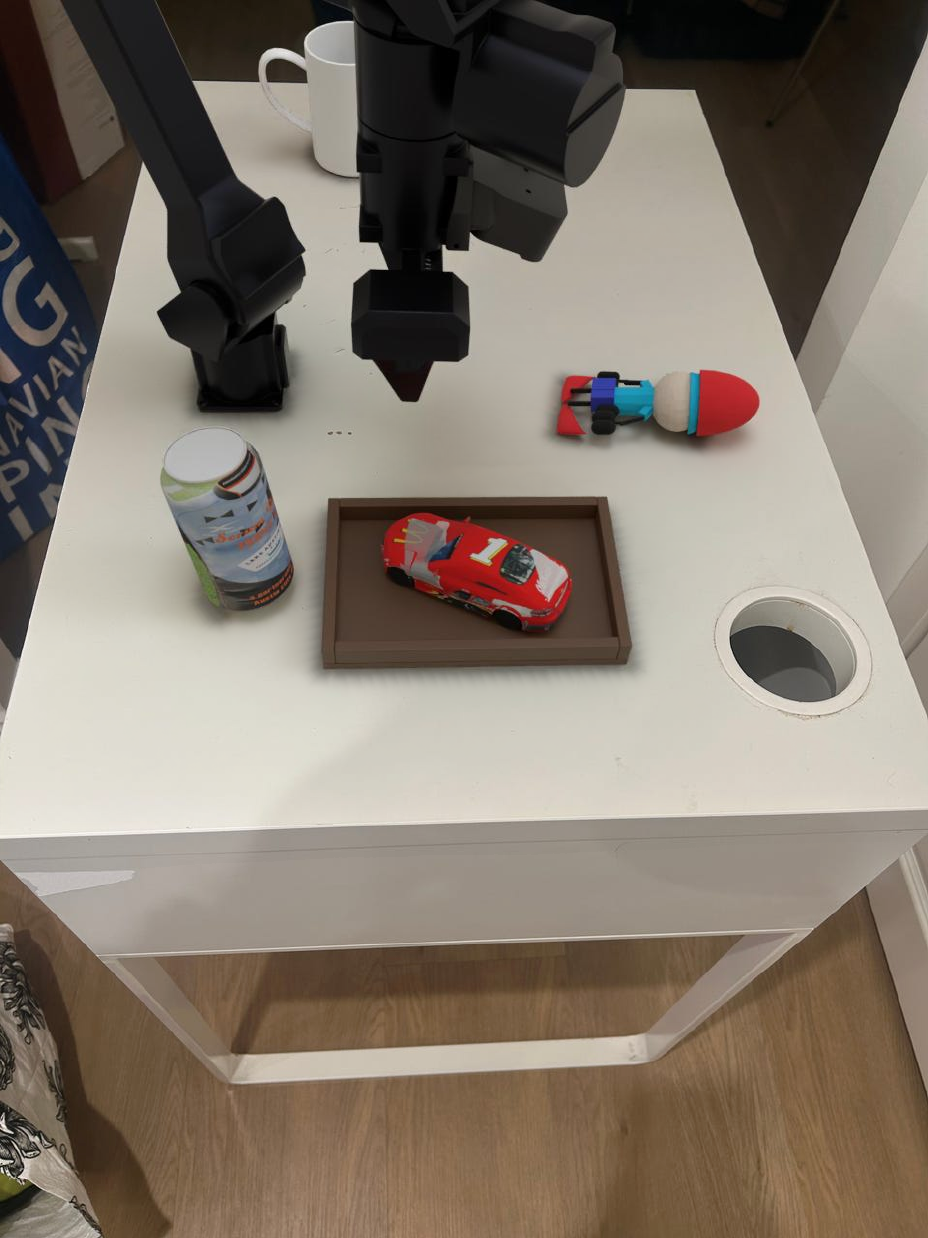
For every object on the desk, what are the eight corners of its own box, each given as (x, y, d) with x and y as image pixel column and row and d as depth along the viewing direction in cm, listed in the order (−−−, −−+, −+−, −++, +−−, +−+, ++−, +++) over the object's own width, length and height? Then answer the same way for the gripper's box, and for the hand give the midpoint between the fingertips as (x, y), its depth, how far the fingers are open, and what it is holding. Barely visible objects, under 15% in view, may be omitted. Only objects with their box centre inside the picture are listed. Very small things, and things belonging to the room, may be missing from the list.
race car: (366, 574, 66) (363, 537, 63) (404, 519, 69) (403, 481, 65) (545, 650, 63) (551, 615, 60) (577, 589, 66) (585, 553, 62)
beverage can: (257, 638, 63) (228, 519, 53) (171, 587, 65) (127, 463, 55) (316, 573, 66) (298, 449, 56) (231, 527, 68) (200, 399, 58)
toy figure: (556, 457, 75) (757, 459, 73) (553, 405, 72) (765, 406, 69) (565, 396, 80) (754, 396, 77) (563, 345, 76) (761, 343, 74)
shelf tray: (323, 669, 62) (321, 651, 60) (330, 517, 69) (328, 497, 68) (626, 663, 63) (632, 646, 62) (602, 515, 70) (607, 495, 69)
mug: (393, 132, 97) (391, 20, 89) (397, 177, 93) (395, 64, 84) (270, 133, 96) (256, 20, 88) (269, 179, 92) (253, 65, 83)
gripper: (586, 227, 45) (544, 459, 58) (555, 26, 55) (525, 262, 68) (344, 219, 44) (356, 455, 57) (358, 17, 55) (366, 257, 68)
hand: (410, 349), depth 63 cm, fingers open, 9 cm apart
